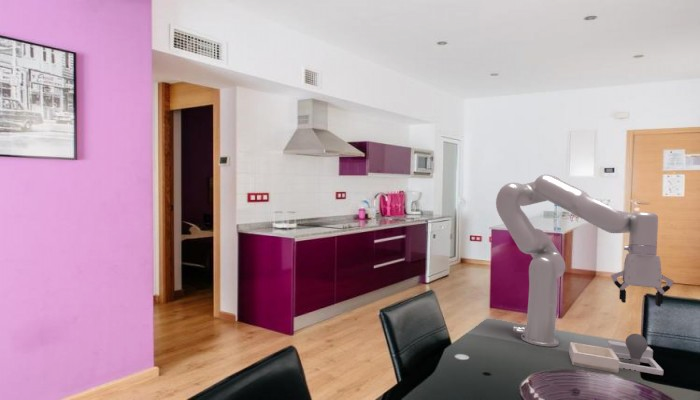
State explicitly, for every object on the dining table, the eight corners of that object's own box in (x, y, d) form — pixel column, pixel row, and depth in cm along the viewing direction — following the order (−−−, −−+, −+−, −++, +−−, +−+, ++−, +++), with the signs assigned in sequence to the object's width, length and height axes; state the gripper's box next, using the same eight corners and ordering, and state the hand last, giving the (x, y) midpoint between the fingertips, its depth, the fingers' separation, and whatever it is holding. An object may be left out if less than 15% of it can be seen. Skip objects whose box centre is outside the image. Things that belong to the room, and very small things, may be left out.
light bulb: (649, 369, 144) (651, 337, 144) (628, 367, 145) (630, 335, 145) (641, 363, 150) (643, 332, 150) (621, 360, 151) (623, 330, 151)
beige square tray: (573, 365, 143) (573, 352, 143) (568, 353, 155) (569, 341, 155) (618, 373, 139) (619, 360, 139) (610, 360, 150) (611, 348, 150)
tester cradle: (616, 367, 144) (617, 352, 144) (606, 351, 160) (607, 338, 160) (663, 375, 140) (664, 360, 140) (648, 358, 156) (649, 344, 156)
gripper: (614, 249, 148) (611, 302, 148) (678, 253, 142) (675, 309, 142) (610, 247, 155) (607, 298, 155) (670, 252, 149) (668, 305, 149)
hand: (640, 303), depth 148 cm, fingers open, 9 cm apart
